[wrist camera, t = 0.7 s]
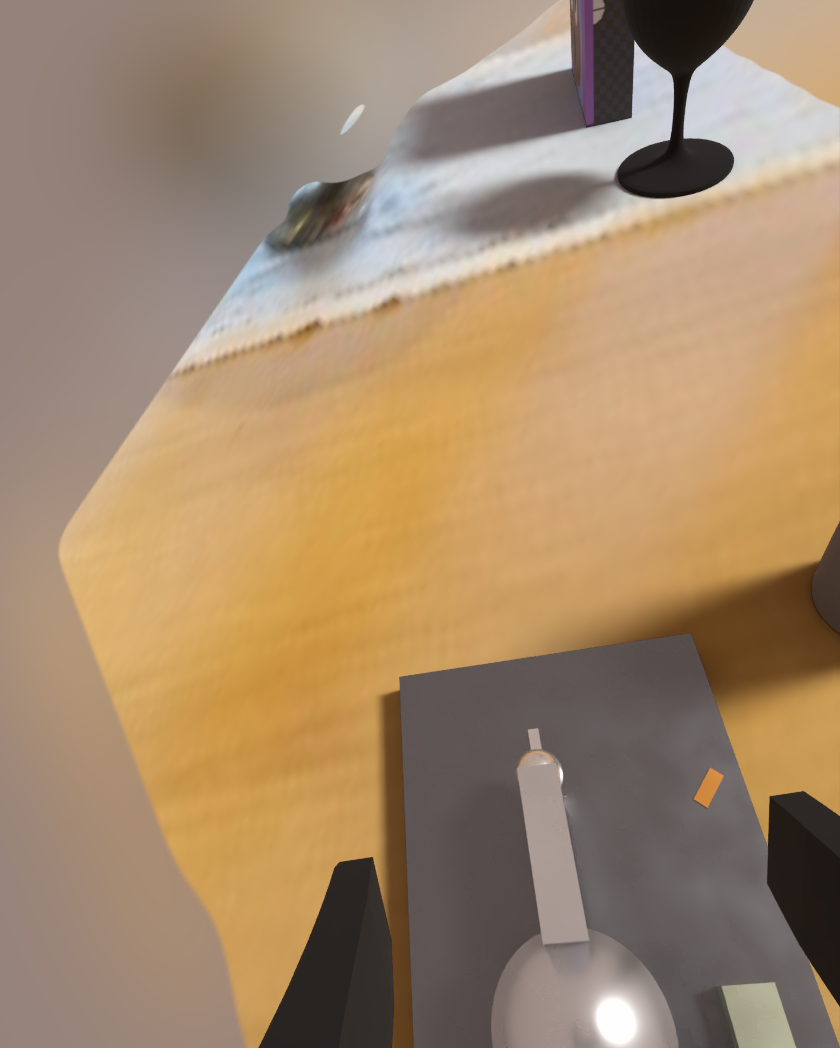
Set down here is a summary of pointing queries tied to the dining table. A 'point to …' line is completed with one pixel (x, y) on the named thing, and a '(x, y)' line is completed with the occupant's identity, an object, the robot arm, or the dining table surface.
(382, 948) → the robot arm
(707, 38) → the wine glass
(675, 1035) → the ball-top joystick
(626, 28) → the cereal box
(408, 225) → the dining table surface
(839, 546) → the bottle
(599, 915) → the lever base plate
